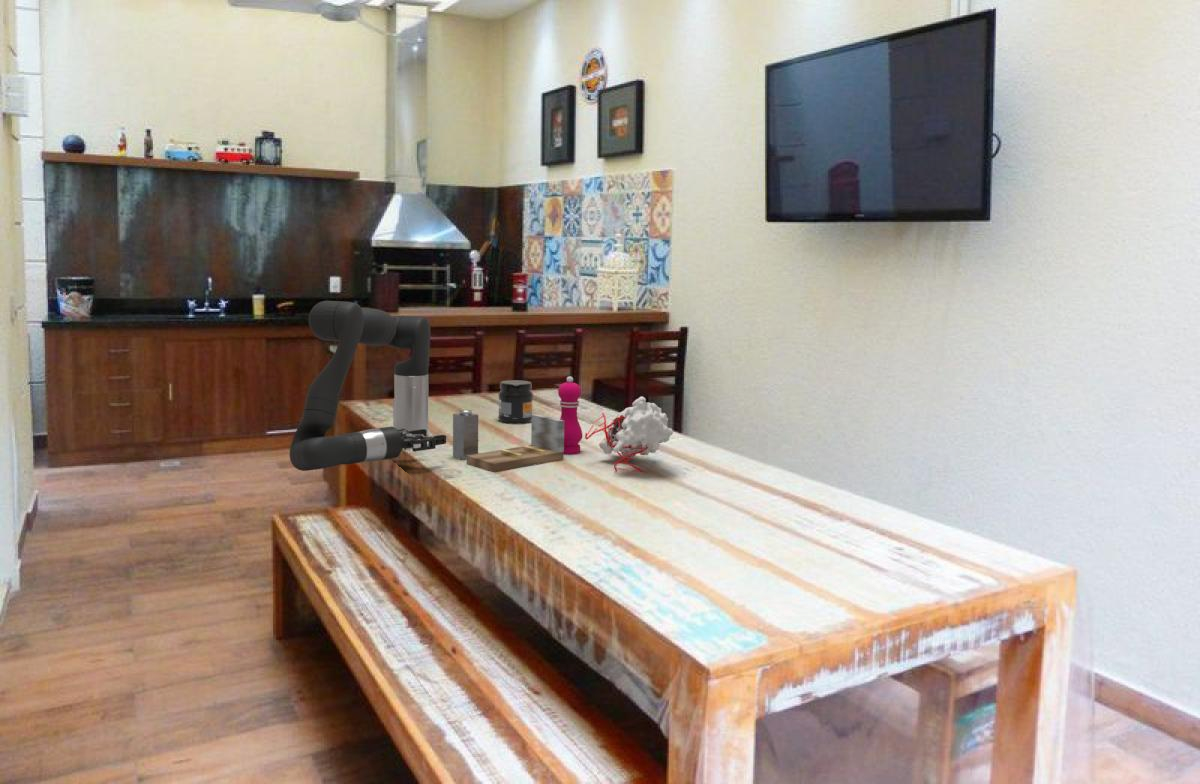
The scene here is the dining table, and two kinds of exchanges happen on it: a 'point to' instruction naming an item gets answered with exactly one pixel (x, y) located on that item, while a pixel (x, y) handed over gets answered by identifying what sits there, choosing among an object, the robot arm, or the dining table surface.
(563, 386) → the pepper mill
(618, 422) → the lumpy white molecule
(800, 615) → the dining table surface
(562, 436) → the wooden base metal fixture
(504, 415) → the supplement container
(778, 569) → the dining table surface
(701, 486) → the dining table surface
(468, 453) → the metal square bar
